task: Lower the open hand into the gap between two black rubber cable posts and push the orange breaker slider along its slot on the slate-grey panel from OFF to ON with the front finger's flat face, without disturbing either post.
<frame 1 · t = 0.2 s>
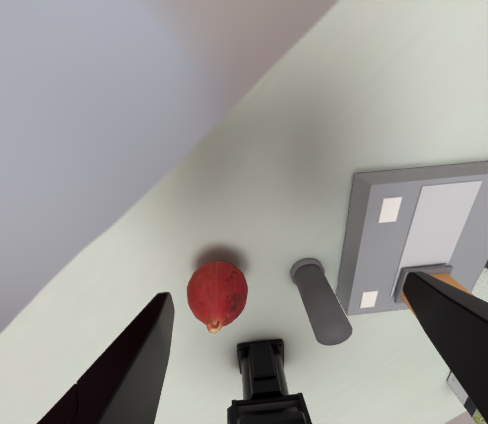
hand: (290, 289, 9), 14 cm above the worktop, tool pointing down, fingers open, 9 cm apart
panel: (406, 236, 26), on the worktop
breaker slider: (442, 305, 22), point 6 cm above the worktop, slide at 0.0 cm
tea box: (483, 351, 39), on the worktop
cable post 2: (306, 271, 28), on the worktop
onion: (218, 265, 27), on the worktop
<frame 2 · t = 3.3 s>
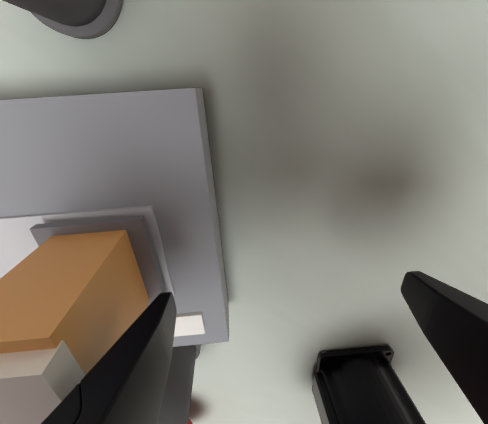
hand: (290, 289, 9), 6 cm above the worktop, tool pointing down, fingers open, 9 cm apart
panel: (82, 230, 14), on the worktop
breaker slider: (72, 318, 8), point 6 cm above the worktop, slide at 0.5 cm, touching gripper
cable post 2: (176, 343, 19), on the worktop
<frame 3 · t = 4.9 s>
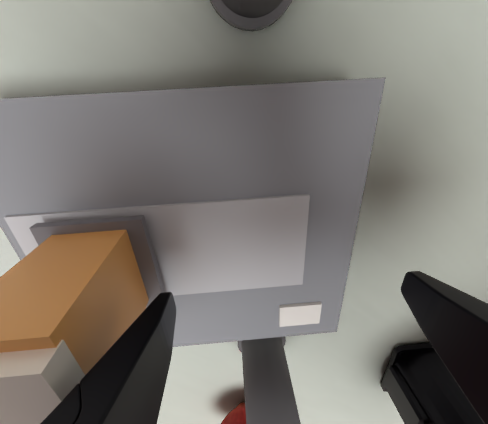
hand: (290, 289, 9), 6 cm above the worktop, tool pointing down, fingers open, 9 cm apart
panel: (199, 221, 14), on the worktop
breaker slider: (72, 317, 8), point 6 cm above the worktop, slide at 7.3 cm, touching gripper
cable post 2: (260, 335, 19), on the worktop
onion: (242, 400, 24), on the worktop
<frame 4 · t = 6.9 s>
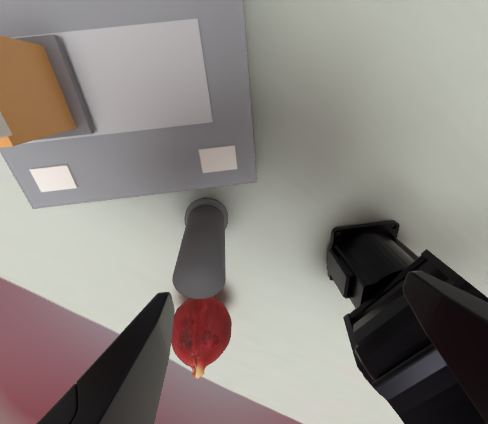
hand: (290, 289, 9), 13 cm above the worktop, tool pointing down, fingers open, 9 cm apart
panel: (129, 85, 16), on the worktop
cable post 2: (206, 217, 22), on the worktop
onion: (204, 296, 27), on the worktop
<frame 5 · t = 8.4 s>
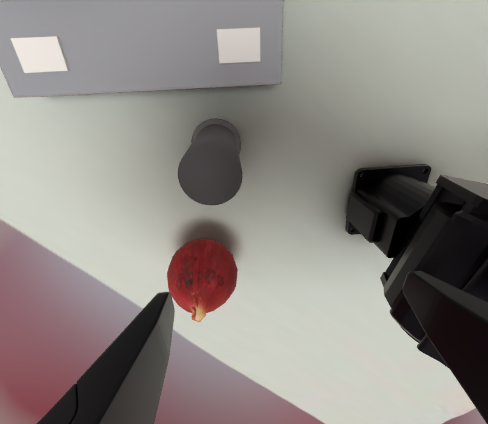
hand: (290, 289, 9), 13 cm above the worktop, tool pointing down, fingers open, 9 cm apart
cable post 2: (216, 144, 19), on the worktop
onion: (206, 247, 24), on the worktop
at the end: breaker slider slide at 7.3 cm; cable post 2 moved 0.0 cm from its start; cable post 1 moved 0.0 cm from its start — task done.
